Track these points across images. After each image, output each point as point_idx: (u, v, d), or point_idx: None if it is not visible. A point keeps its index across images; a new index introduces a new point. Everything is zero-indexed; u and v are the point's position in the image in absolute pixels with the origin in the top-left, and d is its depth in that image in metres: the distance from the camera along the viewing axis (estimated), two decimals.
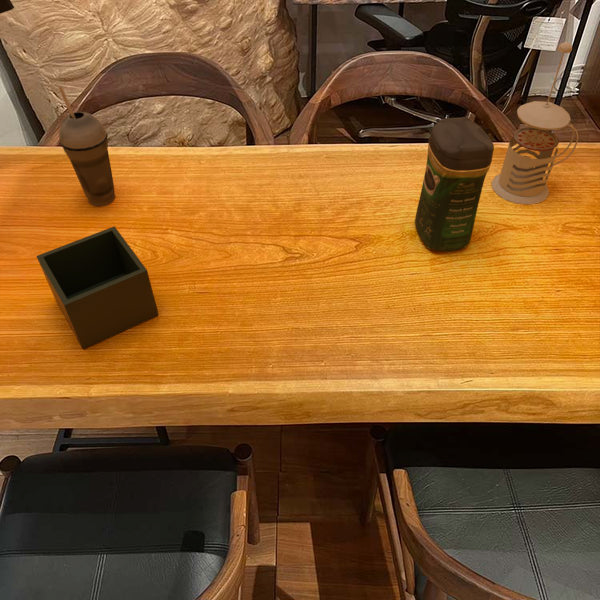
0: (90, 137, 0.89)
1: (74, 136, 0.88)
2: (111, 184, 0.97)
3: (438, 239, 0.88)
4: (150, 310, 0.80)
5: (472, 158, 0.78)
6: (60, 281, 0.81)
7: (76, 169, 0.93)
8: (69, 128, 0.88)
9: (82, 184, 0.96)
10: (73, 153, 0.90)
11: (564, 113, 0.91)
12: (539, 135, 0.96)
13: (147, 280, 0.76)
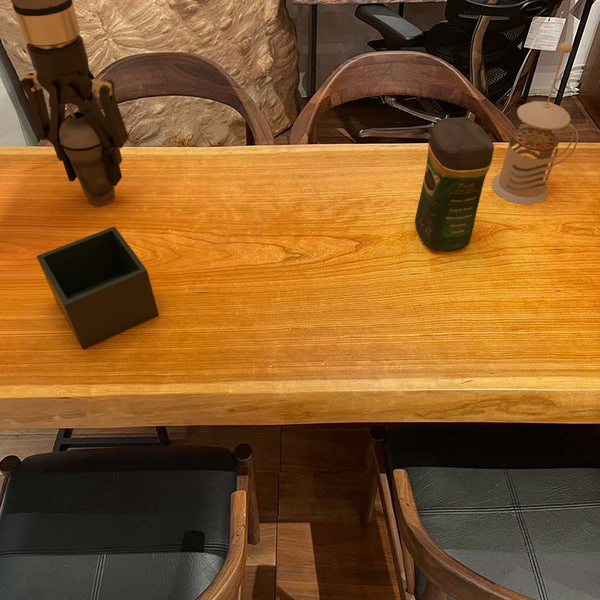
0: (90, 137, 0.89)
1: (74, 136, 0.88)
2: None
3: (438, 239, 0.88)
4: (150, 310, 0.80)
5: (472, 158, 0.78)
6: (60, 281, 0.81)
7: (76, 169, 0.93)
8: (69, 128, 0.88)
9: (82, 184, 0.96)
10: (73, 153, 0.90)
11: (564, 113, 0.91)
12: (539, 135, 0.96)
13: (147, 280, 0.76)
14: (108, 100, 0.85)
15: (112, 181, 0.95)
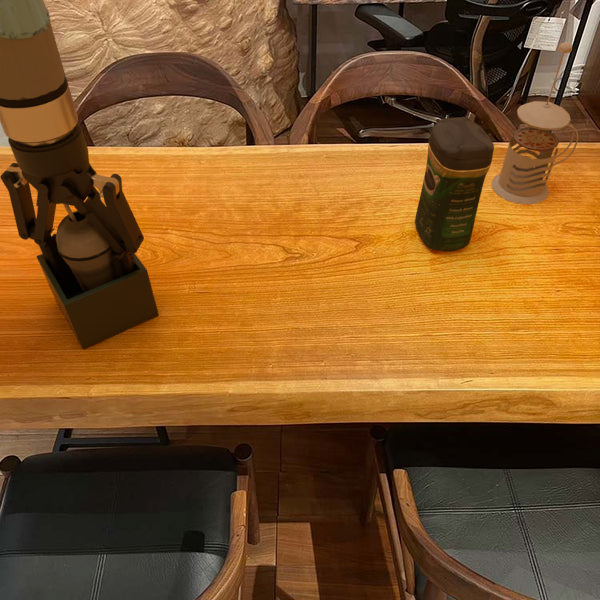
0: (95, 244, 0.71)
1: (75, 244, 0.70)
2: None
3: (438, 239, 0.88)
4: (150, 310, 0.80)
5: (472, 158, 0.78)
6: None
7: (78, 278, 0.75)
8: (68, 234, 0.70)
9: None
10: (74, 263, 0.72)
11: (564, 113, 0.91)
12: (539, 135, 0.96)
13: (147, 280, 0.76)
14: (115, 200, 0.66)
15: None
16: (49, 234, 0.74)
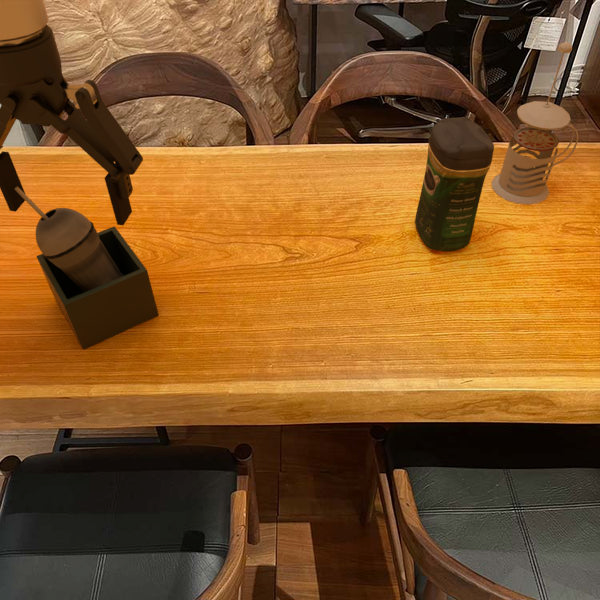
0: (68, 236, 0.71)
1: (49, 240, 0.70)
2: None
3: (438, 239, 0.88)
4: (150, 310, 0.80)
5: (472, 158, 0.78)
6: (60, 281, 0.81)
7: (71, 278, 0.75)
8: (41, 233, 0.71)
9: None
10: (57, 261, 0.72)
11: (564, 113, 0.91)
12: (539, 135, 0.96)
13: (147, 280, 0.76)
14: (93, 109, 0.58)
15: (118, 219, 0.68)
16: None
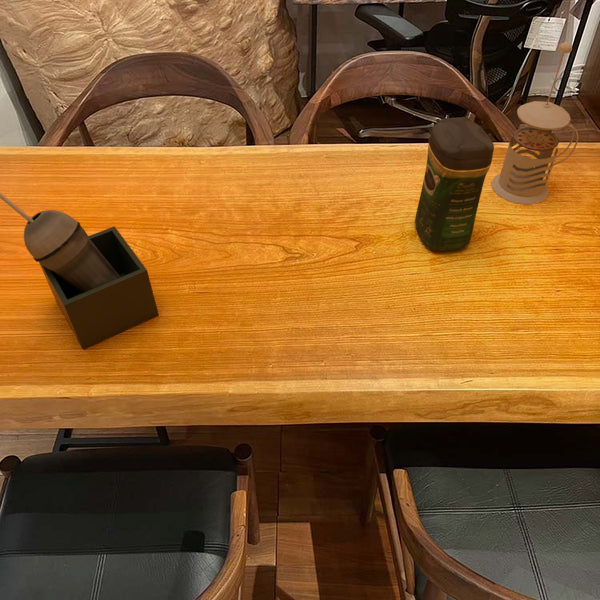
0: (52, 236, 0.71)
1: (35, 243, 0.71)
2: None
3: (438, 239, 0.88)
4: (150, 310, 0.80)
5: (472, 158, 0.78)
6: (60, 281, 0.81)
7: (64, 279, 0.76)
8: (28, 236, 0.71)
9: None
10: (46, 263, 0.73)
11: (564, 113, 0.91)
12: (539, 135, 0.96)
13: (147, 280, 0.76)
14: None
15: None
16: None
